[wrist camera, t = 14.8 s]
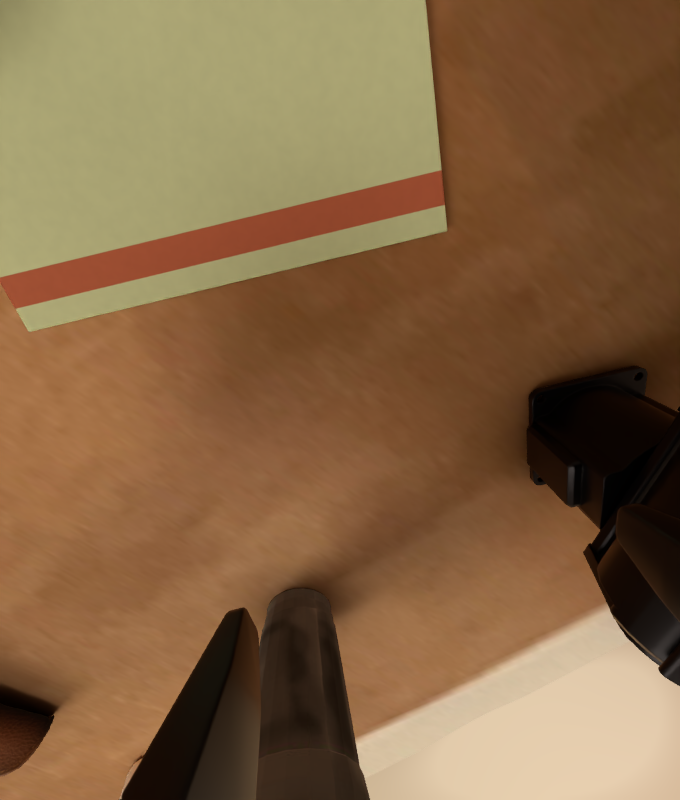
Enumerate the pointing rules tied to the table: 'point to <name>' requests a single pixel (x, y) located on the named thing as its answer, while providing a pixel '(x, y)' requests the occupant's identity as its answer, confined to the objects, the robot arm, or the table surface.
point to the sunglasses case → (20, 736)
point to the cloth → (206, 144)
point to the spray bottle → (130, 774)
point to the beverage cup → (304, 705)
